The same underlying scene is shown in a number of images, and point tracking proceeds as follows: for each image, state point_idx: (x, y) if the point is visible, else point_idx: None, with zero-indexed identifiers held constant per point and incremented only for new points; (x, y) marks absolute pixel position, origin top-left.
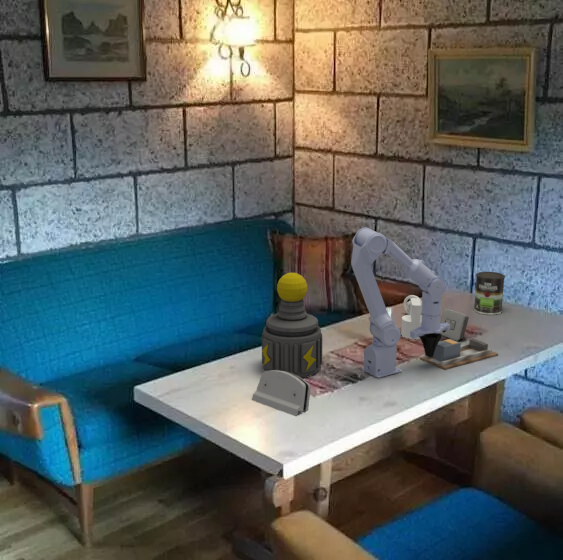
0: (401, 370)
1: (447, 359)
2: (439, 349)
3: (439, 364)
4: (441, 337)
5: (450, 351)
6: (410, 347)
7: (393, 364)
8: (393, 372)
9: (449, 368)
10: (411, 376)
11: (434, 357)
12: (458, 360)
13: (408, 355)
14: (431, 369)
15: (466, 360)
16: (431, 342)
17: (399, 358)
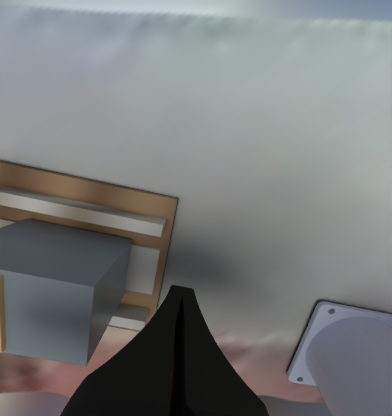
0: (326, 305)
1: (101, 238)
2: (104, 302)
3: (159, 240)
4: (89, 378)
5: (59, 252)
6: None
7: (389, 346)
8: (364, 313)
9: (149, 192)
10: (335, 251)
11: (122, 292)
12: (61, 200)
13: None
14: (213, 240)
15: (18, 183)
16: (222, 371)
17: None
